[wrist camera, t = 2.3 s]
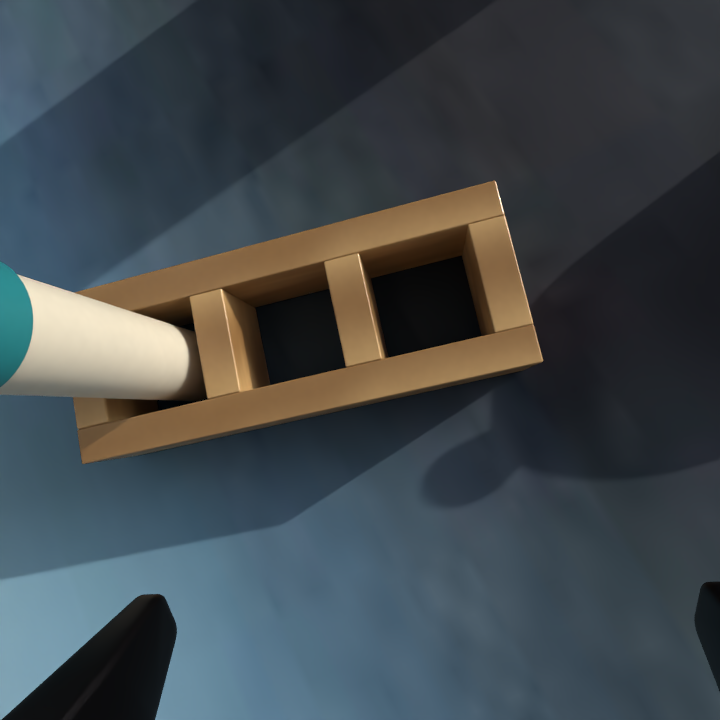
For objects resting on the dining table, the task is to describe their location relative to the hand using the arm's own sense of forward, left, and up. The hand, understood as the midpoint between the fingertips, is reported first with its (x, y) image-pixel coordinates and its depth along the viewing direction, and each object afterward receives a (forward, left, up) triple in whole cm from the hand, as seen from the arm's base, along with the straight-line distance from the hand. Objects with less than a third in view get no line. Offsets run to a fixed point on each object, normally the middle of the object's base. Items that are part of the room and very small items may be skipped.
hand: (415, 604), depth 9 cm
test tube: (-3, +12, -14) cm, 18 cm away
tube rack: (+2, +8, -14) cm, 16 cm away
